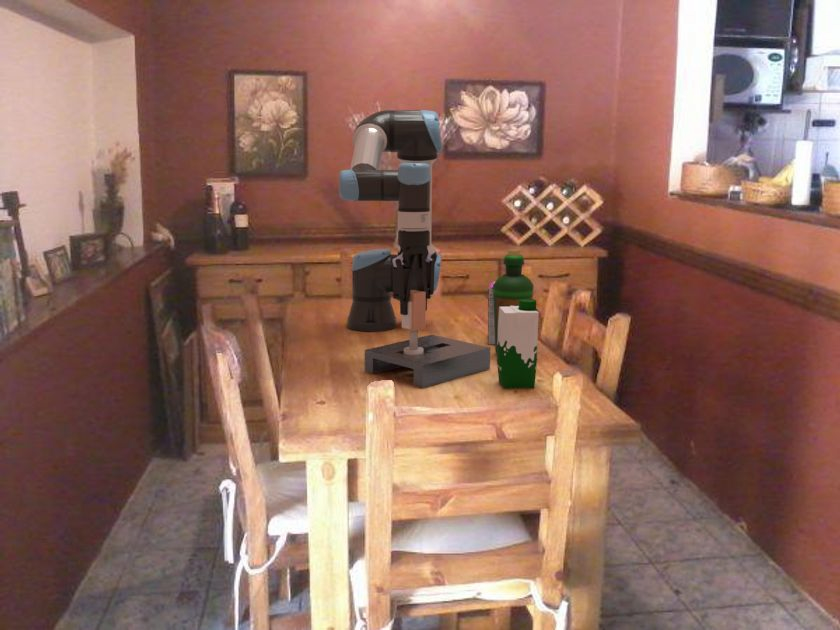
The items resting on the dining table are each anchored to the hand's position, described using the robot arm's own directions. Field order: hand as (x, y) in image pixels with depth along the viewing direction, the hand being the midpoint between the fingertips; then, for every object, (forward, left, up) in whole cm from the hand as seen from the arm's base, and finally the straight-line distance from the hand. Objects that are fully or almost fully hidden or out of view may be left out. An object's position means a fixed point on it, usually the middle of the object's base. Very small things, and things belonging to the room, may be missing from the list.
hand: (413, 326), depth 203 cm
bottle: (+5, +32, -12) cm, 35 cm away
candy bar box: (-8, +42, -12) cm, 45 cm away
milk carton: (+23, +11, -12) cm, 28 cm away
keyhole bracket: (0, +5, -12) cm, 13 cm away
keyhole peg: (0, 0, -8) cm, 8 cm away
